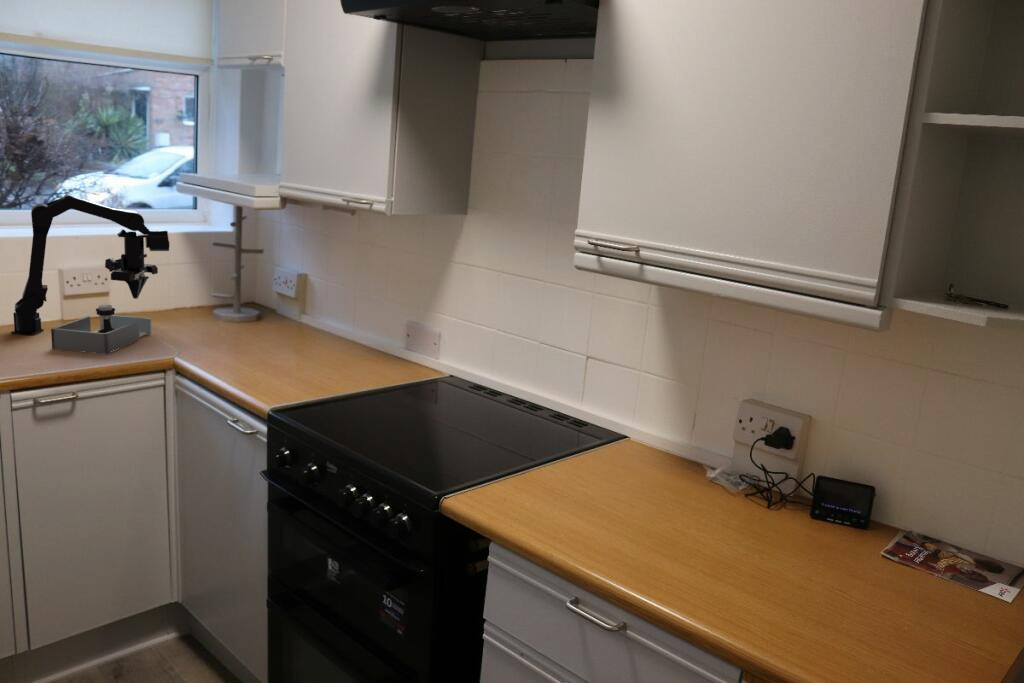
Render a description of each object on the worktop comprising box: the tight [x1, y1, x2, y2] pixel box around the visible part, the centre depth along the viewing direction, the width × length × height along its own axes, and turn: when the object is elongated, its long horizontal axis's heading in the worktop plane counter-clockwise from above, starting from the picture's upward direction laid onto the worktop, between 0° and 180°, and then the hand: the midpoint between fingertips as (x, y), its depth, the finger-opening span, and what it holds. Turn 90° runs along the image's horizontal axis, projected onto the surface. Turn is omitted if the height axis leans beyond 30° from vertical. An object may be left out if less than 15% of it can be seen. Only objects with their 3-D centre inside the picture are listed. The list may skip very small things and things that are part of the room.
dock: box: [50, 315, 141, 354], centre depth 244 cm, size 18×17×6 cm
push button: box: [95, 304, 116, 333], centre depth 247 cm, size 7×5×10 cm
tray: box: [93, 314, 152, 338], centre depth 251 cm, size 18×16×5 cm
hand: (135, 298), depth 264 cm, fingers closed
